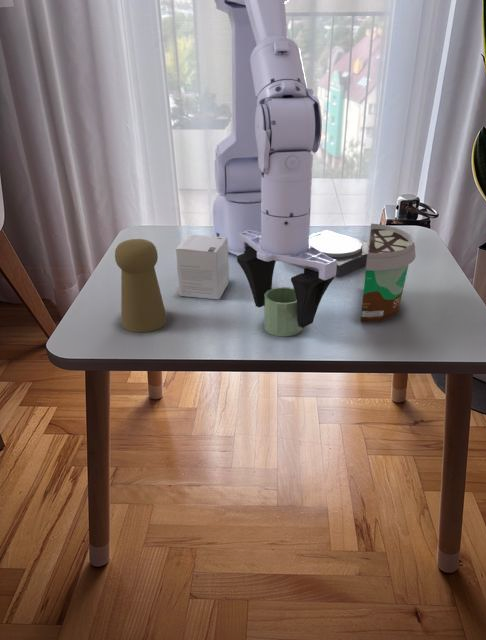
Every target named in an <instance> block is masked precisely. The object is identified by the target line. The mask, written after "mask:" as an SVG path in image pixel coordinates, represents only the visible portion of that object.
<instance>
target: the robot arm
mask: <svg viewBox="0 0 486 640" xmlns="http://www.w3.org/2000/svg"><path fill="white" fill-rule="evenodd" d="M213 1H214V3H215V8H216V9H217V10H218V11H221V12H223V13H226V14H227V15H228V19H229V24H230V28H231V95H232V97H231V98H232V99H231V100H232V102H231V103H232V132H231V133H230V134H229V135H228V136H226V138H224V139H223V140H221V141H220V142H219V143H218V144H216V148H215V160H214V181H215V188H216V192H217V193H218V195H217V196H216V197H215V200H214V202H213V205H212V226H213V227H212V228H213V236H215V237H227V238H228V253H230V254H232V255H235V256H237V257H236V262H237V264H238V265H239V267H240V268H241V269H242V271H243V273H244V275H245V277H246V280H247V281H248V285H249V288H250V291H251V294H252V299H253V301H254V304H255V307H256V308H258V309H260V308H262V307H264V294H265V293H266V292H267V291H268V290H270V289H273V277H274V271H275V266H276V262H280V263H286V264H288V265H291V266H293V267H296V268H299V269H302V270H303V272H301V273H299V274H296V275H294V276H291V278H290V282H291V284H292V288H294V290H295V294H296V300H297V321H298V326H299V327H302V329H304V328H306V327H308V326H309V325H312V324H313V323H314V320H315V318H316V314H317V311H318V308H319V305H320V303H321V301H322V298H323V296H324V294H325V293H326V291H327V290H328V287H329V286H330V285H331V284H332V282H333V280H334V279H335V278H336V268H337V260H335V259H332V258H330V257H328V256H326V255H325V254H323V253H322V252H321V251H319V250H318V249H316V248H315V247H313V246H312V245H310V244H309V235H310V231H311V229H310V228H311V227H310V226H311V207H312V206H311V205H312V184H313V183H312V182H313V181H312V180H313V164H314V163H313V160H314V155H313V154H312V153H314V154H315V153H317V152H318V151H319V149H320V146H321V141H322V139H321V138H322V132H323V119H322V109H321V103H320V100H319V98H318V97H317V95H315V93H314V90H313V88H308V85H307V80H306V74H305V69H304V65H303V57H302V55H301V54H302V53H301V49H300V47H299V45H298V44H297V43H296V41H294V40H293V39H291V38H289V37H288V26H287V12H286V4H287V2H290V0H213Z"/></svg>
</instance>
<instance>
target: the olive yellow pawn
mask: <svg viewBox="0 0 486 640" xmlns="http://www.w3.org/2000/svg"><path fill="white" fill-rule="evenodd" d="M158 258H159V257H158V250H157V247H156V245H155V244H154V243H153V242H152V241H150V240H148V239H143V238H131V239H127V240H123V241H122V242H120V243H119V244H117V246H116V248H115V250H114V260H115V263H116V265H117V267H118V268H119V269H120V270H121V277H120V279H121V286H120V287H121V288H120V291H121V292H120V293H121V294H120V295H121V296H120V298H121V300H120V301H121V302H120V305H121V307H120V308H121V310H120V314H121V315H120V319H121V320H120V321H121V322H120V324H121V327H122V328H123V329H124V330H126V331H128V332H132V333H149V332H153V331H157V330H159V329H161V328H163V327H164V326H165V325H167V322H168V317H167V312H166V309H165V305H164V300H163V296H162V292H161V288H160V284H159V280H158V276H157V272H156V268H155V266H156V265H157V263H158Z"/></svg>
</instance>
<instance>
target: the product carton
mask: <svg viewBox="0 0 486 640" xmlns="http://www.w3.org/2000/svg"><path fill="white" fill-rule="evenodd" d="M175 253H176V267H177V281H178V293H179V296H181V297H186V298H187V297H188V298H196V299H197V298H198V299H209V300H221V297H222V295H223V294H224V292H225V290H226V288H227V287H228V285H229V283H230V265H229V252H228V238H227V237H215V236H214V235H213V236H212V235H201V234H194V233H193V234H192V233H191V234H188V235H187V236H186V237H185V238H184V239H183V240H182V242H180V244H179V245H178V246H177V247H176V248H175Z"/></svg>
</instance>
